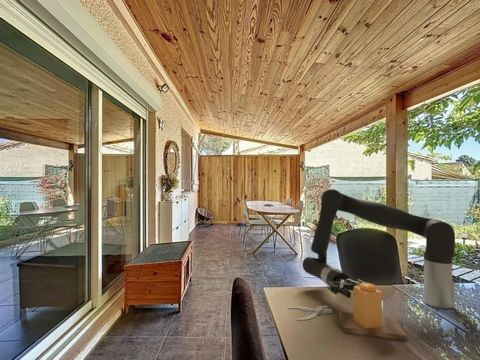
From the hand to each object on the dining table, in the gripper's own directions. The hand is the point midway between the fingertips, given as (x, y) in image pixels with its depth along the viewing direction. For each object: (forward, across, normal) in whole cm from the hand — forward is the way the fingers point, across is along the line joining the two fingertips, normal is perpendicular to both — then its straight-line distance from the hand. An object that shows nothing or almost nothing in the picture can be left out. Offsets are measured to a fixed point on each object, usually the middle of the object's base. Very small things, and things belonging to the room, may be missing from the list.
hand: (361, 294), depth 92 cm
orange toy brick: (+3, 0, +8) cm, 9 cm away
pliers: (-10, -13, +10) cm, 19 cm away
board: (+3, +1, +10) cm, 10 cm away
